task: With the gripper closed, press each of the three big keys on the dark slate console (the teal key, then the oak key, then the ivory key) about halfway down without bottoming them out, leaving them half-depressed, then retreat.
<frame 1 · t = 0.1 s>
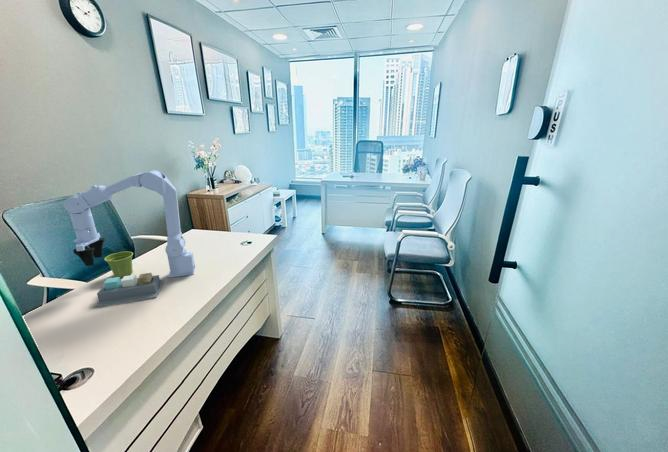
hand: (94, 261, 101), 10 cm above the table, fingers open, 7 cm apart
oak key: (145, 279, 99), point 5 cm above the table, slide at 0.0 cm
plant pot: (123, 274, 112), on the table
ivory key: (129, 281, 97), point 5 cm above the table, slide at 0.0 cm
teal key: (112, 284, 95), point 5 cm above the table, slide at 0.0 cm
console: (132, 293, 99), on the table
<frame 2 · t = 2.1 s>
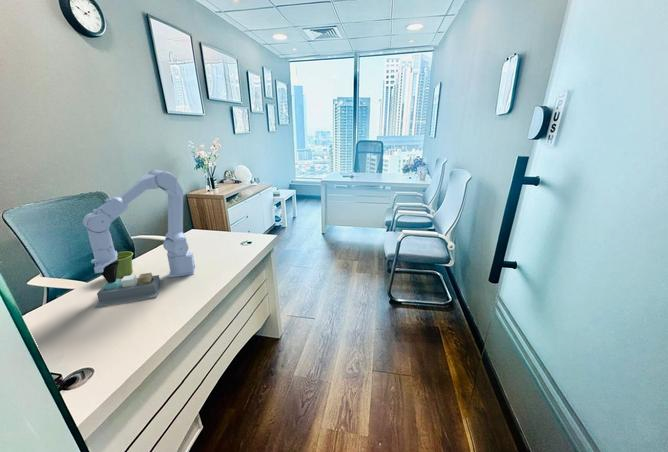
hand: (112, 281, 95), 6 cm above the table, fingers closed, pressing on teal key
teal key: (113, 285, 96), point 4 cm above the table, slide at 0.7 cm, touching gripper
everything else where it was.
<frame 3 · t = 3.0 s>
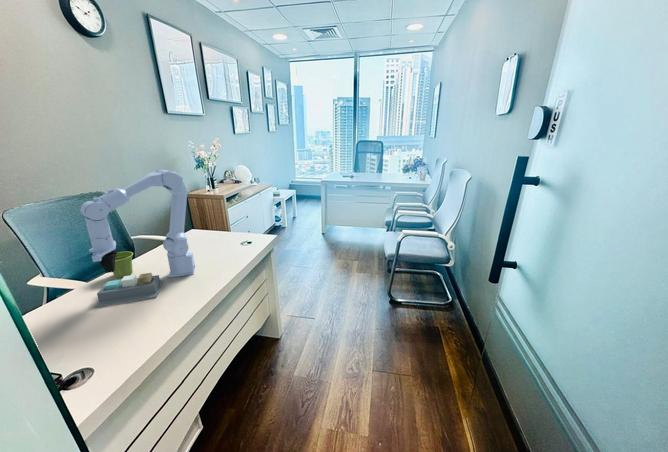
hand: (110, 271, 94), 10 cm above the table, fingers closed
teal key: (113, 287, 96), point 4 cm above the table, slide at 1.1 cm
everything else where it was.
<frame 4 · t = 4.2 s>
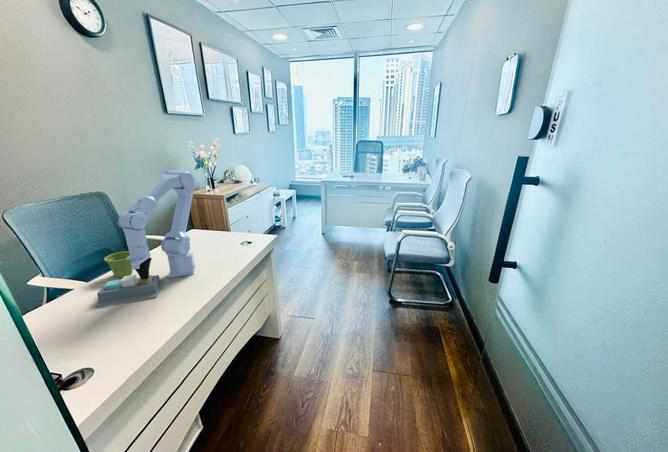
hand: (145, 278, 99), 5 cm above the table, fingers closed, pressing on oak key
oak key: (146, 282, 99), point 4 cm above the table, slide at 1.1 cm, touching gripper
everything else where it was.
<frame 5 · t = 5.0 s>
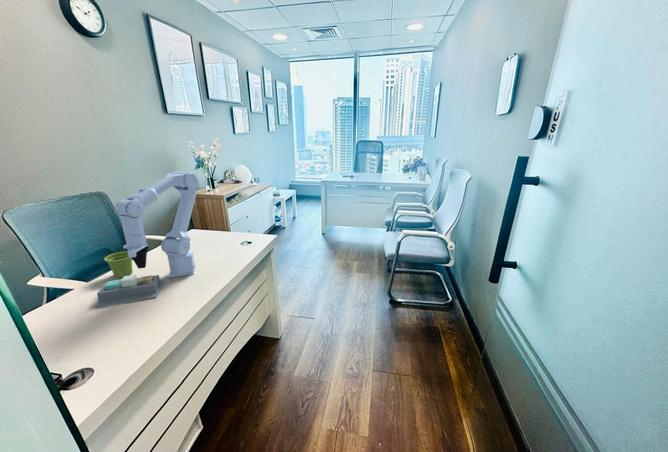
hand: (142, 267, 97), 10 cm above the table, fingers closed
oak key: (146, 282, 99), point 4 cm above the table, slide at 1.1 cm
everything else where it was.
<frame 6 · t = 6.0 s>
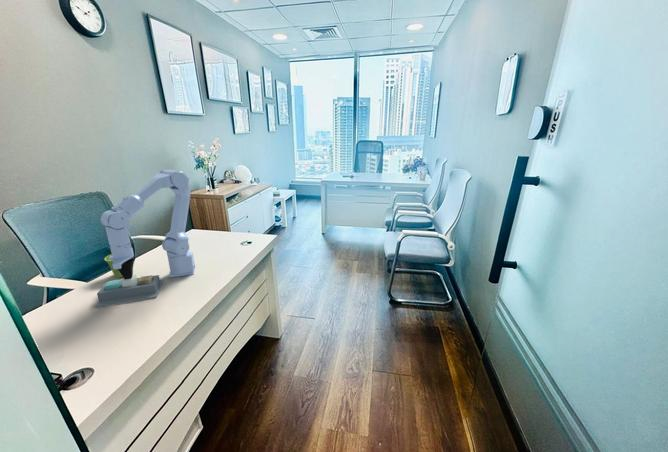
hand: (128, 278, 97), 6 cm above the table, fingers closed, pressing on ivory key
ivory key: (129, 282, 97), point 5 cm above the table, slide at 0.2 cm, touching gripper
everything else where it was.
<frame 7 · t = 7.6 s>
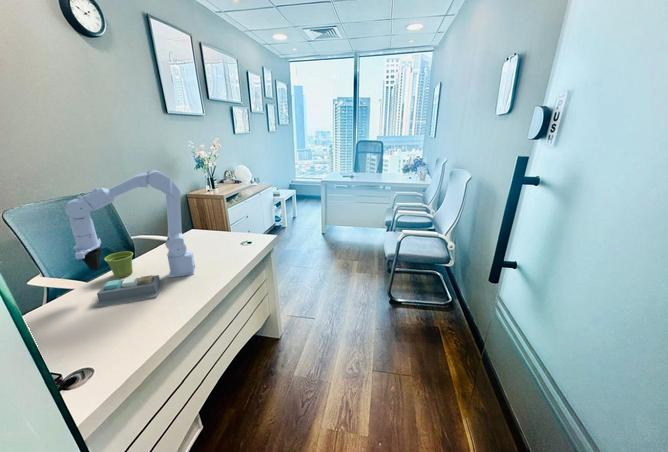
hand: (94, 269, 95), 10 cm above the table, fingers closed
ivory key: (130, 284, 97), point 4 cm above the table, slide at 1.1 cm
everything else where it was.
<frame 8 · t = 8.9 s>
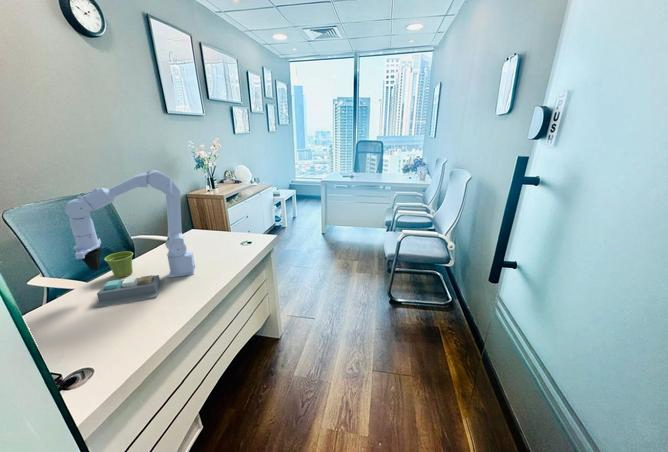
hand: (94, 269, 95), 10 cm above the table, fingers closed
nothing on the table moved.
at the end: teal key slide at 1.1 cm; oak key slide at 1.1 cm; ivory key slide at 1.1 cm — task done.
